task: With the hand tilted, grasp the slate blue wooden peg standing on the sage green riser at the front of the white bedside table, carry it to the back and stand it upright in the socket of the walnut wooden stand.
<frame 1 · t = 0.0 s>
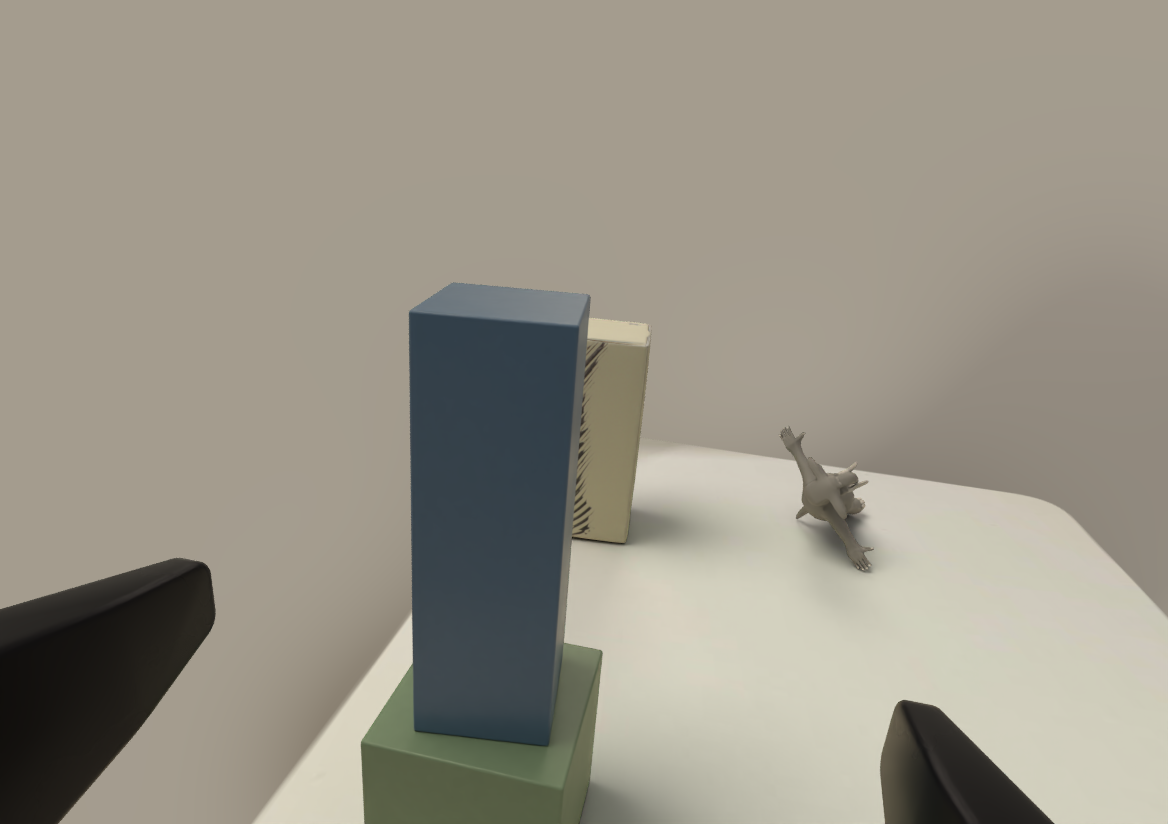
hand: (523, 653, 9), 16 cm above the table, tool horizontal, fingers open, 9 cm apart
peg: (493, 691, 22), point 6 cm above the table, touching riser
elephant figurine: (813, 532, 47), on the table
box: (596, 526, 45), on the table
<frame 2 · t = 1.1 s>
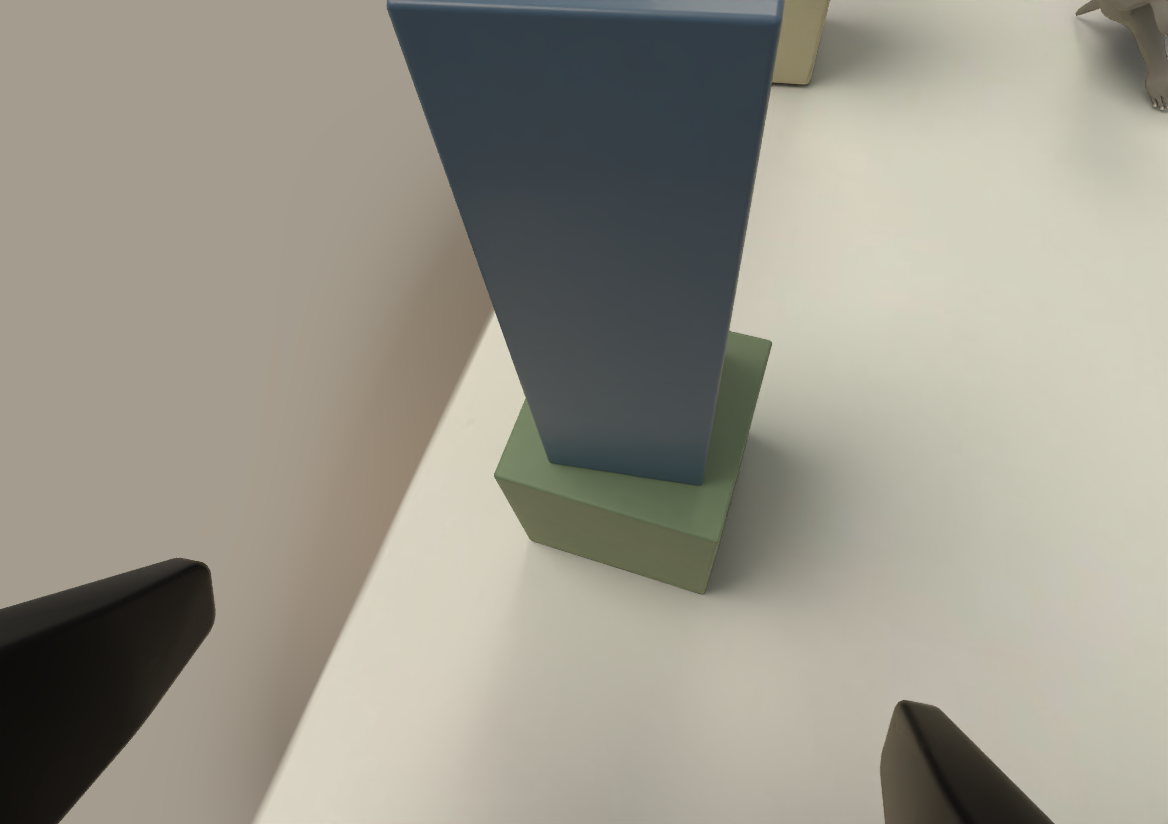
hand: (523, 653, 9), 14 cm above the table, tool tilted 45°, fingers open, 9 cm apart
riser: (640, 484, 24), on the table
peg: (636, 406, 19), point 6 cm above the table, touching riser
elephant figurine: (1098, 39, 32), on the table
box: (769, 54, 33), on the table
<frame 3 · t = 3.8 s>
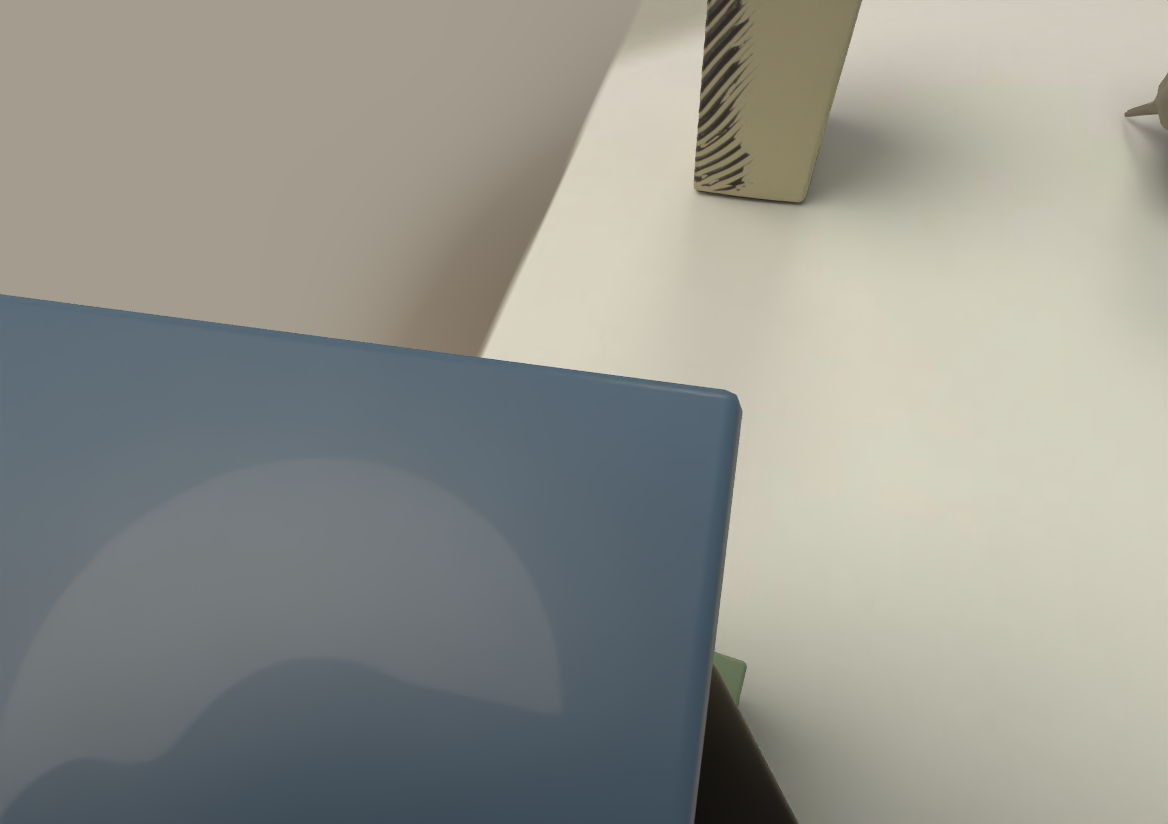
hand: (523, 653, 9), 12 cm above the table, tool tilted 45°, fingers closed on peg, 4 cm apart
riser: (585, 763, 19), on the table
peg: (556, 766, 14), point 6 cm above the table, touching gripper, riser
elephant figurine: (1152, 147, 26), on the table
box: (756, 159, 28), on the table
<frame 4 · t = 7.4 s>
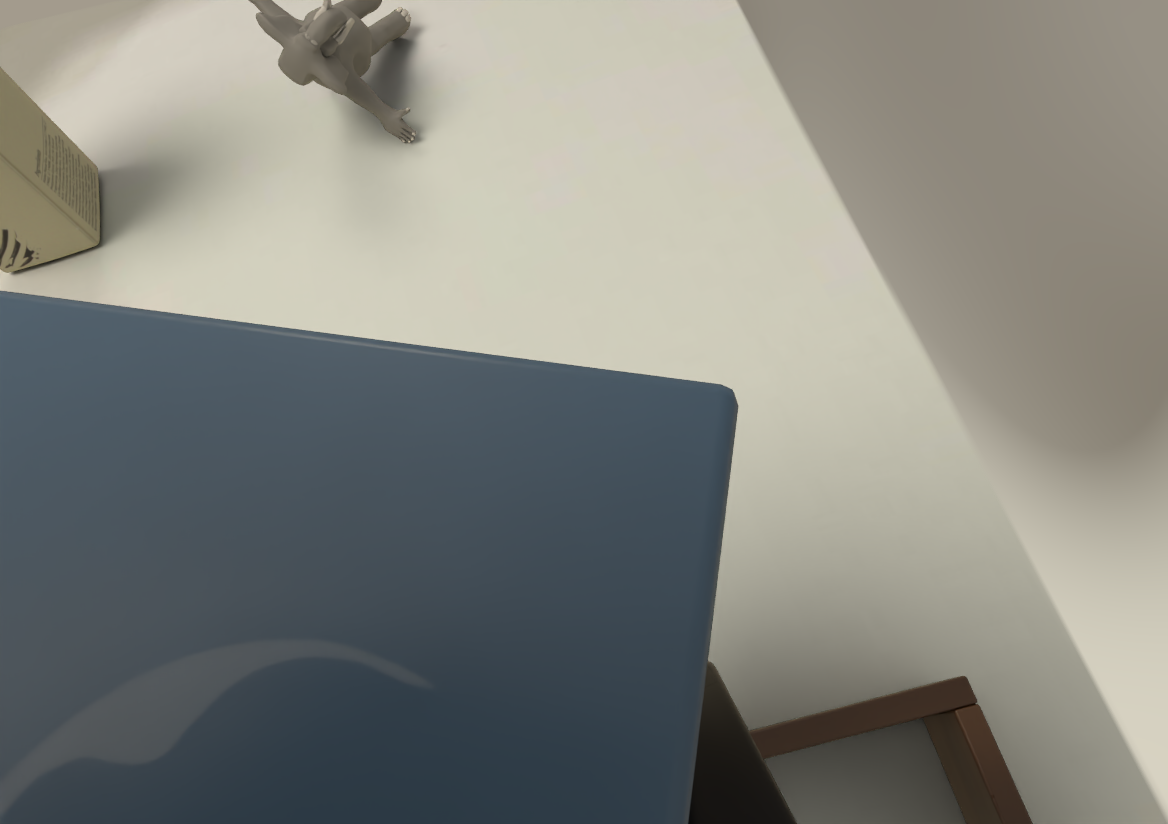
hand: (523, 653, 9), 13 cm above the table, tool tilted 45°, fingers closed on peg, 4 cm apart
peg: (556, 765, 14), point 8 cm above the table, touching gripper
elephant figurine: (353, 95, 34), on the table
box: (60, 226, 32), on the table
when the fingers open (6 cm above the table, at t = 11.4 s): peg stays where it is, resting in stand.
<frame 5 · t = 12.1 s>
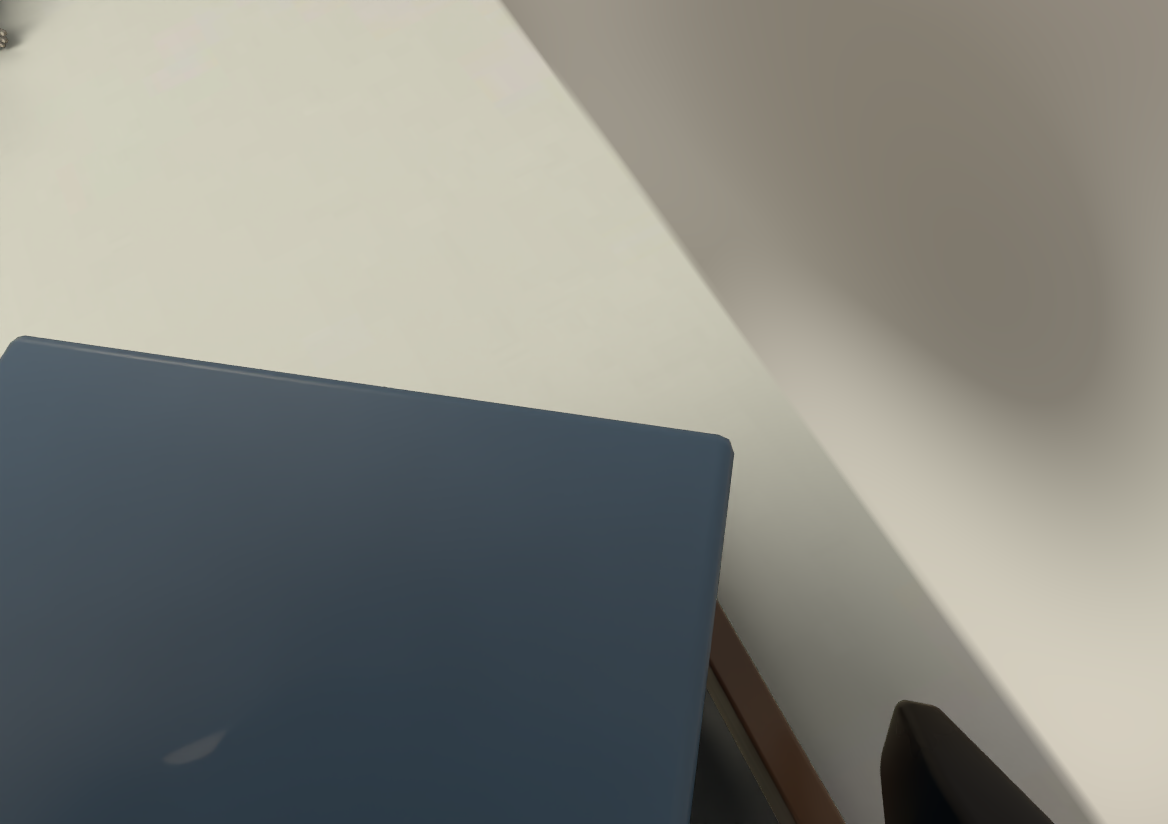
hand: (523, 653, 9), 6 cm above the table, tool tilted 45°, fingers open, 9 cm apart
stand: (561, 769, 14), on the table
peg: (559, 766, 14), resting in stand
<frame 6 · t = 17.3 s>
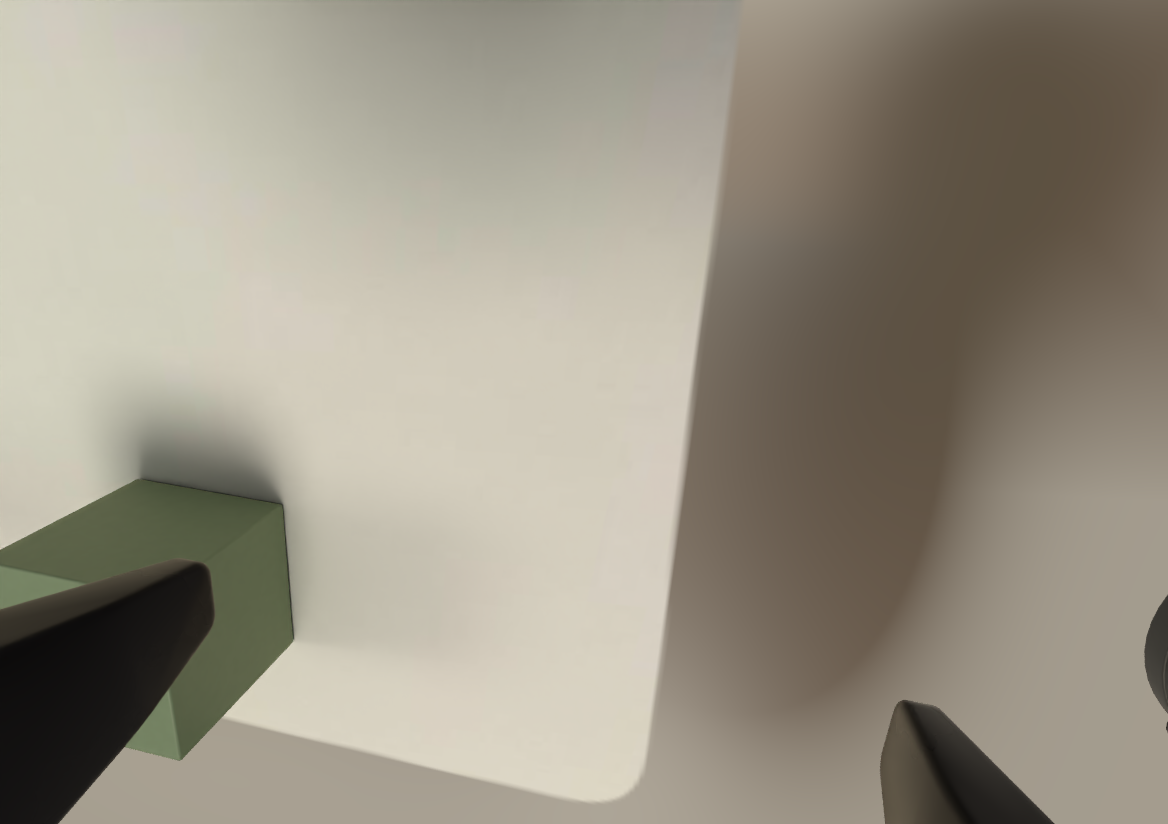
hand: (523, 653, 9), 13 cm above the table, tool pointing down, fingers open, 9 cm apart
riser: (217, 561, 27), on the table
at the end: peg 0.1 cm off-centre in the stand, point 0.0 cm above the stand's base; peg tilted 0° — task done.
